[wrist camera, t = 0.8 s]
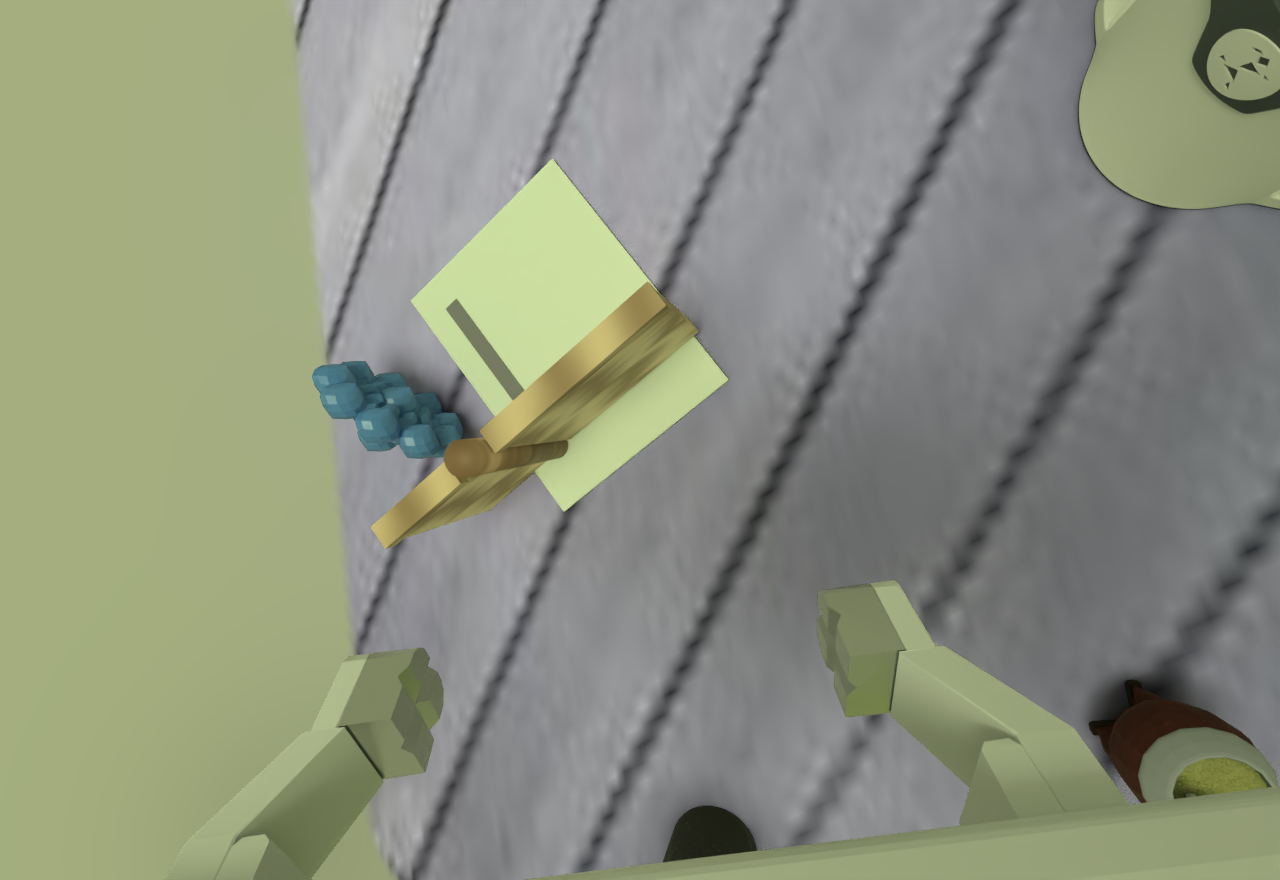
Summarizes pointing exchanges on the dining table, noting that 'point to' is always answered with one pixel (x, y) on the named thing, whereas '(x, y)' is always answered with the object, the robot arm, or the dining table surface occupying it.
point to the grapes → (386, 410)
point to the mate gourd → (1179, 750)
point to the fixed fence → (463, 486)
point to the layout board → (556, 324)
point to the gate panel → (593, 373)
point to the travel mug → (708, 835)
